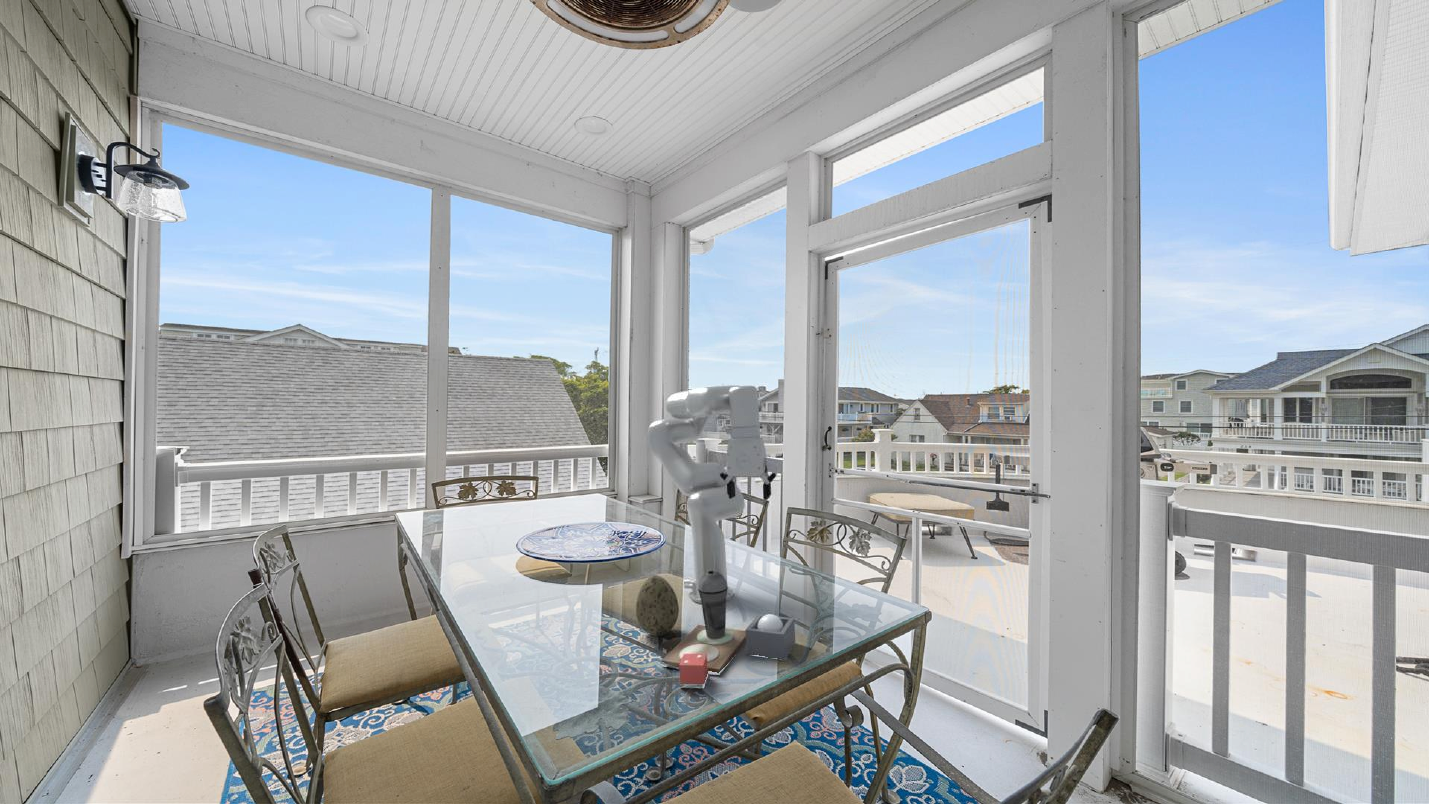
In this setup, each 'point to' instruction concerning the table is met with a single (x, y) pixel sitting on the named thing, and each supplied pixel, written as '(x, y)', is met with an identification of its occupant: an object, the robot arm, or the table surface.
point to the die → (693, 669)
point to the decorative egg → (657, 606)
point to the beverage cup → (713, 602)
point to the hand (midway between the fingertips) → (749, 498)
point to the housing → (770, 639)
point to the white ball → (770, 623)
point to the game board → (708, 648)
